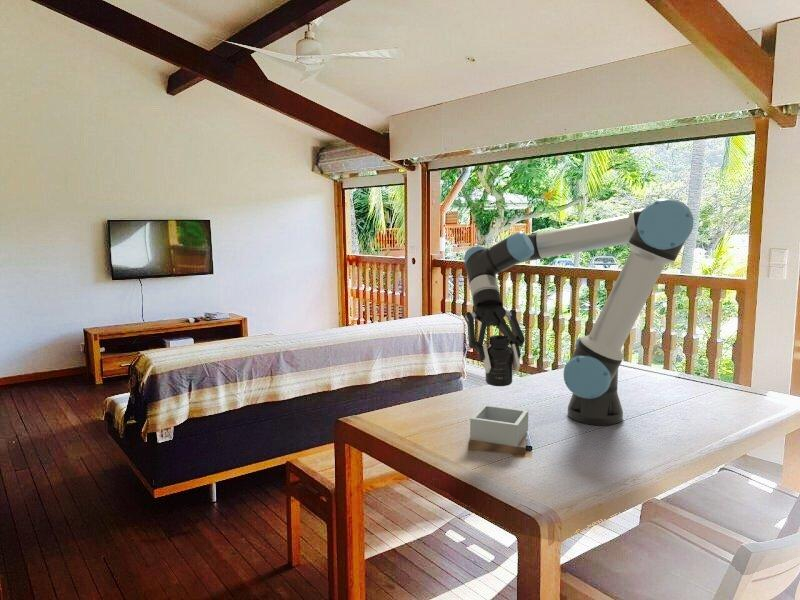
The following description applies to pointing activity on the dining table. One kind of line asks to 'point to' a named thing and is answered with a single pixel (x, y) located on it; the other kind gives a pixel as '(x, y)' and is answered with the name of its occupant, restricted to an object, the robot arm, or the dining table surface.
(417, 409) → the dining table surface
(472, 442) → the walnut plinth
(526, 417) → the grey square open box
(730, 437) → the dining table surface
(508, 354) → the supplement bottle
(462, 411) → the dining table surface
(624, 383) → the dining table surface
